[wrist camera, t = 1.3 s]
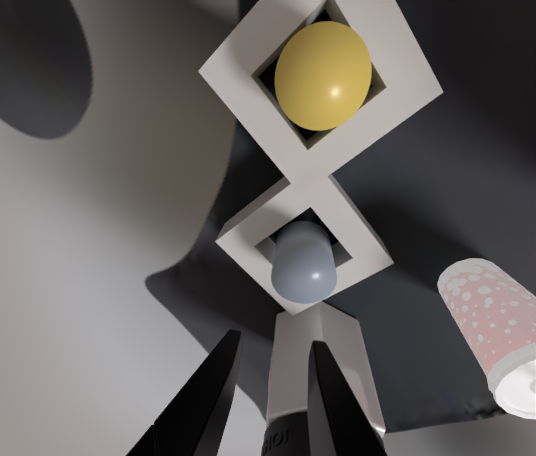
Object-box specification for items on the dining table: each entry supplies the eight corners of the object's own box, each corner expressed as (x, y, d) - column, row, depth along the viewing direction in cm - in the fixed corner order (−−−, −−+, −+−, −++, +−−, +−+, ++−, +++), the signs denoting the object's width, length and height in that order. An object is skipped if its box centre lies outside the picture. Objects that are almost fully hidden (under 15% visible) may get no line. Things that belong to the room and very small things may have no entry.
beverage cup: (415, 271, 22) (559, 502, 10) (496, 236, 20) (808, 477, 8) (443, 317, 24) (590, 556, 12) (519, 290, 22) (796, 549, 10)
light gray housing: (315, 152, 18) (317, 163, 16) (382, 241, 21) (394, 263, 19) (225, 222, 22) (215, 241, 19) (292, 291, 25) (292, 316, 22)
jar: (274, 295, 25) (257, 447, 15) (363, 301, 24) (412, 467, 14) (273, 356, 29) (259, 509, 19) (349, 364, 29) (378, 526, 18)
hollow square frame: (334, -62, 13) (343, -98, 11) (420, 90, 16) (443, 92, 13) (213, 73, 17) (198, 70, 14) (300, 180, 19) (301, 195, 17)
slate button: (308, 210, 18) (310, 239, 15) (341, 249, 20) (350, 285, 16) (265, 240, 20) (257, 273, 16) (297, 274, 21) (297, 312, 18)
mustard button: (325, 17, 13) (335, -7, 10) (368, 86, 15) (390, 86, 11) (265, 77, 15) (255, 75, 11) (308, 134, 16) (311, 148, 13)
